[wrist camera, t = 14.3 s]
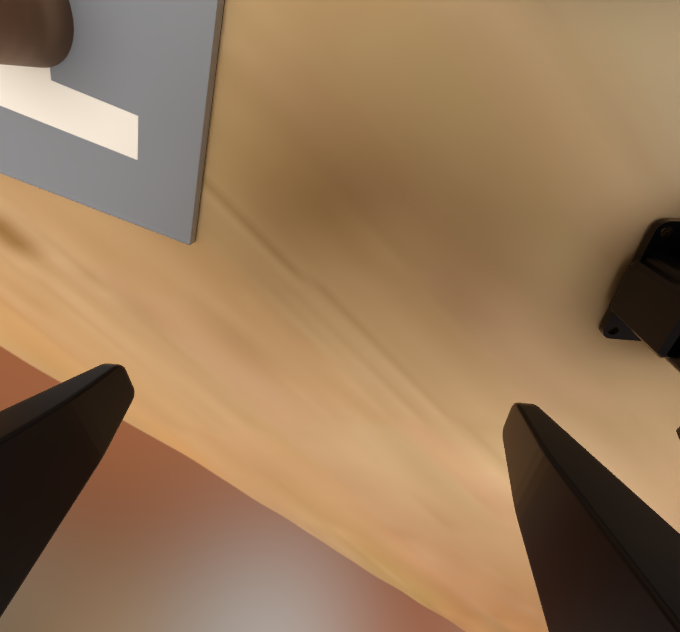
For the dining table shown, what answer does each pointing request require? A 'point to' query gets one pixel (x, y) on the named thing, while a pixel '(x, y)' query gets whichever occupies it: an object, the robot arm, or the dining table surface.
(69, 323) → the dining table surface
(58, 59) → the walnut pillar
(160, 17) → the letter board
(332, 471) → the dining table surface
